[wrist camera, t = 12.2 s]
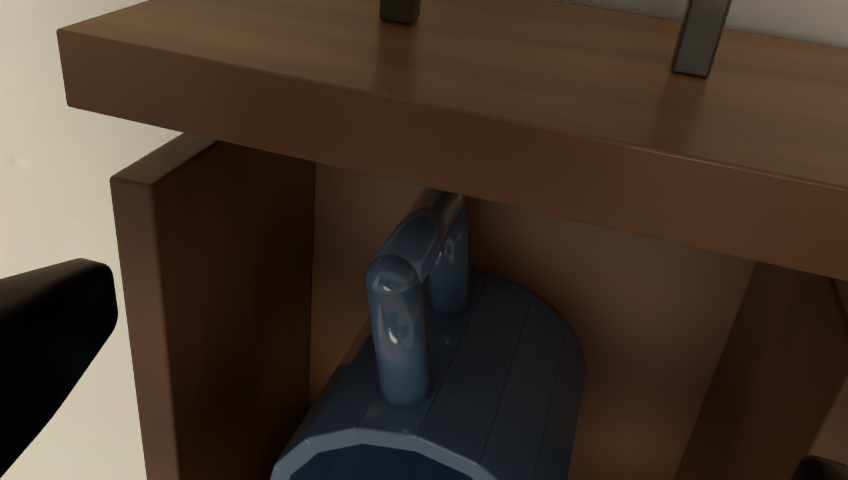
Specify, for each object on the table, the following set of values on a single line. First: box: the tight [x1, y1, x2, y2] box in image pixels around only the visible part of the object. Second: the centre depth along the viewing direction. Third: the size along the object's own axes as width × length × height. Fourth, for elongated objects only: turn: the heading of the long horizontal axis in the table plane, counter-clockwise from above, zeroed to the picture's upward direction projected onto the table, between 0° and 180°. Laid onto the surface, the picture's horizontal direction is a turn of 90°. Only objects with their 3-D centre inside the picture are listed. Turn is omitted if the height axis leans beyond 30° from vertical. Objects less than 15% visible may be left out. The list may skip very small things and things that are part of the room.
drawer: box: [57, 0, 848, 480], centre depth 15 cm, size 18×13×8 cm
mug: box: [270, 187, 588, 480], centre depth 17 cm, size 9×6×6 cm, turn 5°
